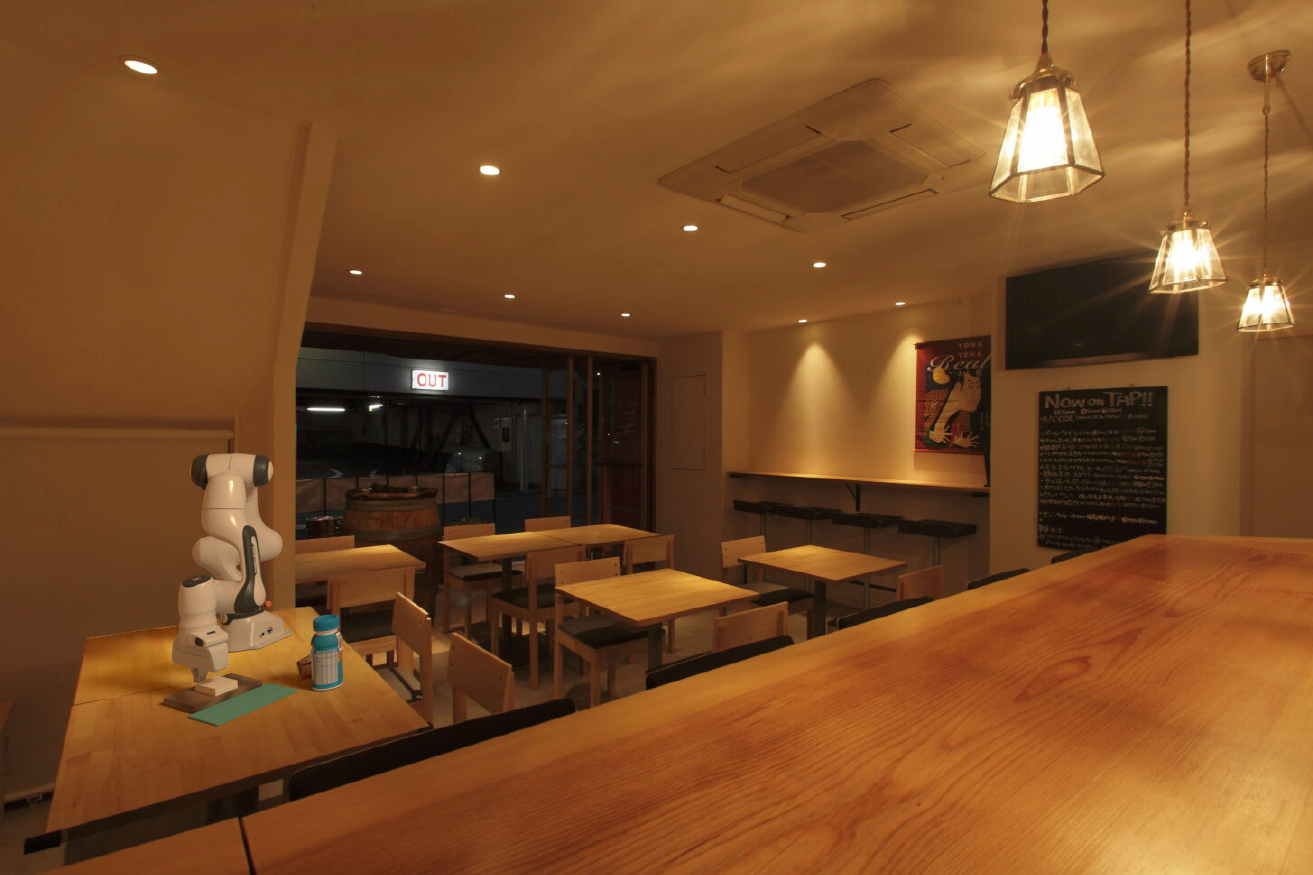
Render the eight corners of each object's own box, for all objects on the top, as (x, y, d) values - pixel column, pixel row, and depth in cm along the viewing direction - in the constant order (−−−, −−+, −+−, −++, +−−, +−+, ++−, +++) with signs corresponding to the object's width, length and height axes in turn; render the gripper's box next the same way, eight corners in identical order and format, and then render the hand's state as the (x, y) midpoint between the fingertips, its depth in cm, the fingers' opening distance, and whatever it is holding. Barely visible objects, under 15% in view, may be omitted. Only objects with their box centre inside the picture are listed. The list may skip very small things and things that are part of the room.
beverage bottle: (321, 694, 177) (319, 624, 176) (305, 687, 181) (303, 619, 181) (350, 683, 184) (348, 616, 184) (333, 677, 189) (331, 611, 188)
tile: (217, 682, 181) (217, 675, 181) (237, 687, 177) (237, 680, 177) (195, 690, 176) (194, 683, 175) (215, 696, 172) (215, 689, 172)
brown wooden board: (231, 679, 188) (231, 672, 188) (262, 686, 182) (262, 680, 182) (163, 704, 171) (163, 697, 171) (195, 713, 166) (195, 706, 166)
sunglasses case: (294, 661, 201) (306, 641, 203) (315, 668, 205) (327, 648, 206) (301, 680, 186) (313, 658, 188) (324, 687, 190) (336, 666, 192)
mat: (269, 684, 184) (269, 682, 184) (297, 691, 179) (297, 689, 179) (188, 717, 164) (188, 715, 164) (217, 726, 159) (217, 724, 159)
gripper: (164, 632, 180) (165, 680, 180) (208, 642, 172) (210, 692, 172) (188, 626, 186) (189, 672, 186) (232, 635, 177) (233, 683, 178)
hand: (200, 682), depth 179 cm, fingers closed
